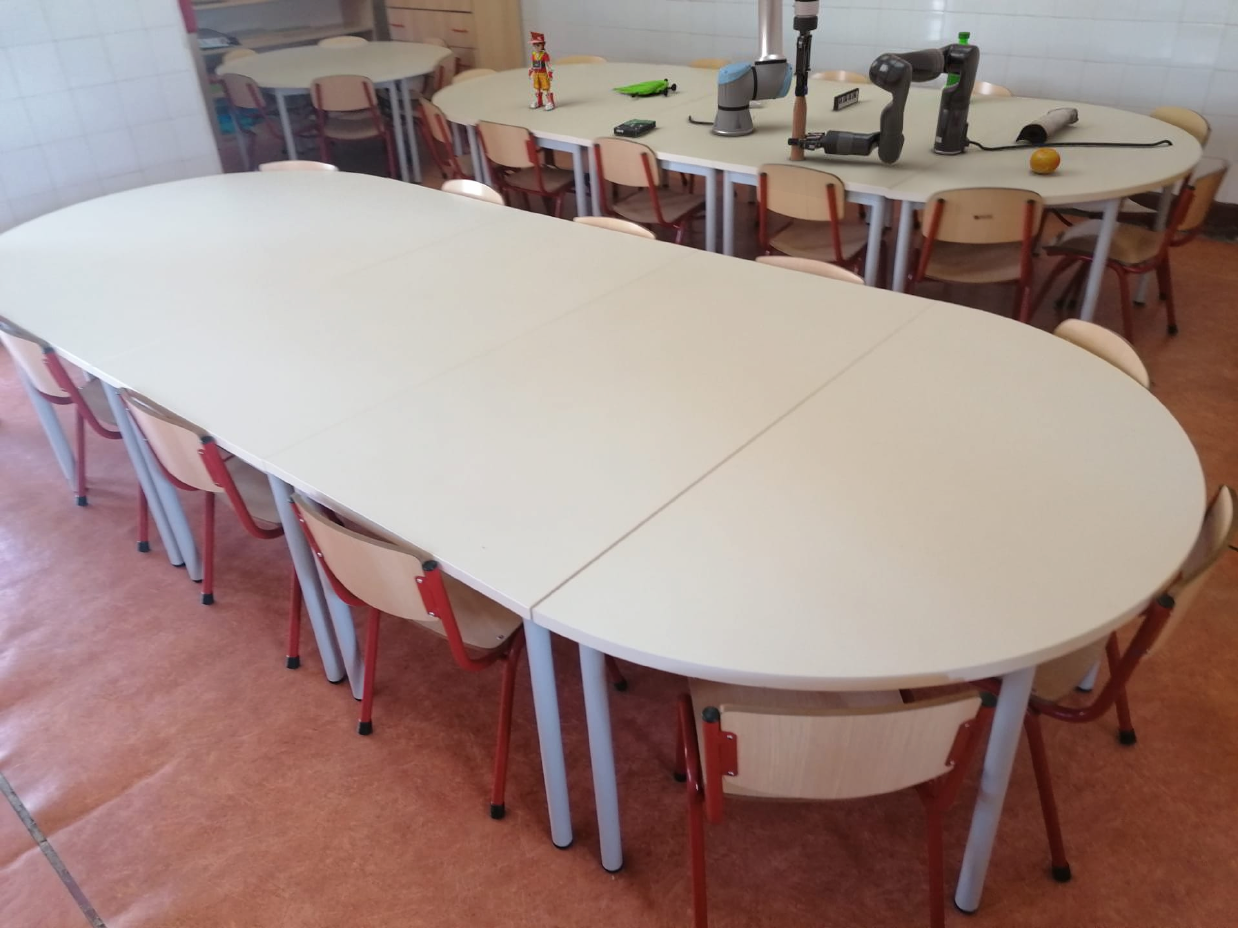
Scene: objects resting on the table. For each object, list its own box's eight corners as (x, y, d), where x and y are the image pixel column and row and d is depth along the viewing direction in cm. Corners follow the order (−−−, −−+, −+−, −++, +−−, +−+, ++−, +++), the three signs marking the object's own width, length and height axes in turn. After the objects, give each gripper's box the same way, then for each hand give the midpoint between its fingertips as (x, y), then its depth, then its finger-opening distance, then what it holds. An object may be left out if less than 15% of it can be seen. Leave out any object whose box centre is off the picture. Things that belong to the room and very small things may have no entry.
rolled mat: (1045, 112, 323) (1070, 95, 315) (1059, 134, 324) (1084, 117, 315) (1011, 136, 306) (1036, 118, 298) (1025, 158, 306) (1051, 141, 298)
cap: (809, 94, 291) (810, 87, 290) (798, 96, 290) (798, 89, 289) (803, 92, 295) (804, 85, 293) (792, 94, 294) (792, 86, 292)
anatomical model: (728, 79, 370) (752, 73, 369) (732, 105, 376) (756, 98, 375) (735, 87, 358) (759, 81, 357) (739, 114, 364) (763, 107, 363)
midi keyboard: (835, 110, 353) (837, 97, 350) (833, 110, 354) (834, 97, 351) (858, 101, 363) (859, 88, 361) (855, 101, 364) (856, 88, 361)
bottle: (806, 159, 303) (810, 89, 290) (794, 161, 302) (798, 90, 289) (799, 156, 307) (804, 86, 294) (788, 158, 306) (792, 88, 293)
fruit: (1025, 163, 276) (1043, 140, 272) (1023, 166, 283) (1041, 143, 280) (1048, 179, 274) (1067, 155, 271) (1046, 181, 282) (1064, 158, 279)
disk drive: (636, 138, 336) (656, 127, 346) (636, 130, 334) (656, 120, 344) (613, 135, 340) (633, 125, 351) (613, 128, 339) (633, 118, 349)
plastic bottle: (973, 101, 354) (984, 32, 339) (955, 106, 349) (966, 36, 335) (952, 97, 361) (962, 29, 346) (934, 102, 356) (944, 33, 342)
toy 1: (525, 109, 381) (517, 32, 364) (534, 104, 388) (527, 28, 371) (550, 110, 377) (543, 32, 360) (559, 105, 384) (553, 28, 367)
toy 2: (686, 85, 398) (631, 84, 414) (685, 72, 395) (629, 72, 411) (651, 104, 381) (596, 103, 397) (650, 92, 378) (594, 91, 394)
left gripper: (799, 11, 287) (795, 88, 300) (788, 20, 274) (784, 100, 287) (822, 11, 285) (817, 89, 298) (812, 20, 272) (807, 101, 285)
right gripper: (847, 125, 298) (797, 122, 305) (836, 137, 288) (784, 133, 295) (844, 148, 303) (795, 145, 309) (834, 160, 292) (783, 156, 299)
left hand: (801, 94), depth 293 cm, fingers closed on cap, 4 cm apart
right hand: (790, 139), depth 302 cm, fingers closed on bottle, 4 cm apart
